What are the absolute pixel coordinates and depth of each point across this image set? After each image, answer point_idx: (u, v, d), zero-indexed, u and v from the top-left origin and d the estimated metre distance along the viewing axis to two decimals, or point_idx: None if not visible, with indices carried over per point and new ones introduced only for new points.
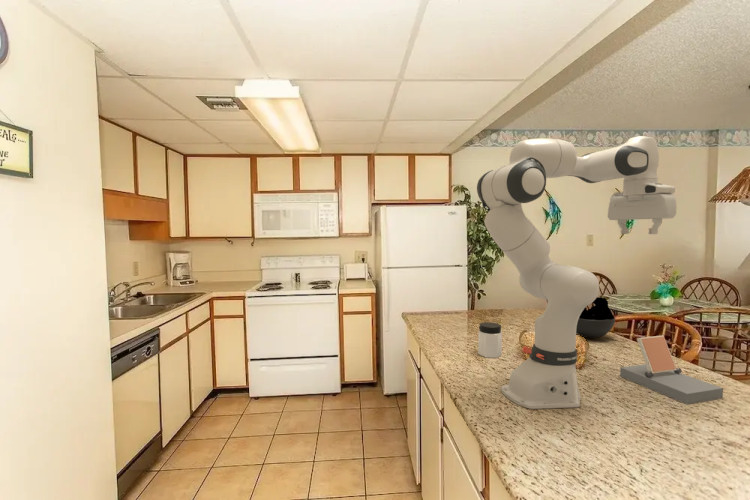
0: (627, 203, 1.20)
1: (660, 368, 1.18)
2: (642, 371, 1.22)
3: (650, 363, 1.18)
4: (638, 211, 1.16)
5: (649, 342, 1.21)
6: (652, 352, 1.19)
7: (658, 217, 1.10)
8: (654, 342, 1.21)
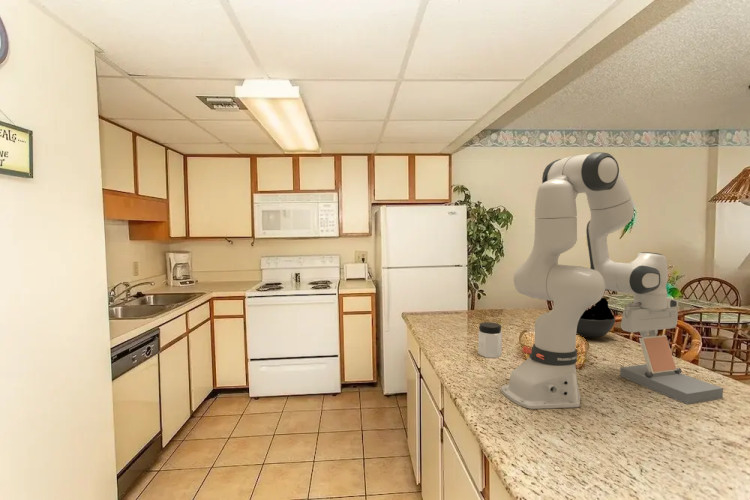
0: (647, 315, 1.20)
1: (660, 368, 1.18)
2: (642, 371, 1.22)
3: (651, 363, 1.17)
4: (657, 323, 1.21)
5: (651, 342, 1.20)
6: (653, 352, 1.19)
7: (671, 327, 1.23)
8: (656, 342, 1.20)
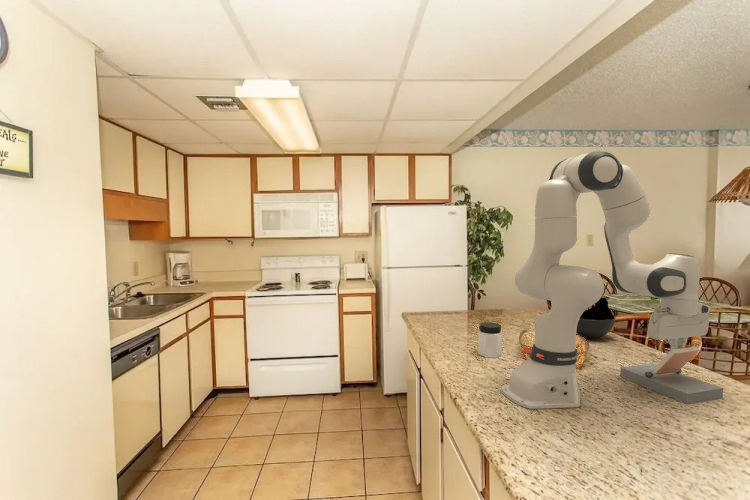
0: (676, 321, 1.11)
1: (664, 372, 1.17)
2: (642, 371, 1.22)
3: (659, 369, 1.15)
4: (687, 330, 1.13)
5: (679, 356, 1.12)
6: (671, 362, 1.14)
7: (702, 335, 1.14)
8: (683, 356, 1.12)
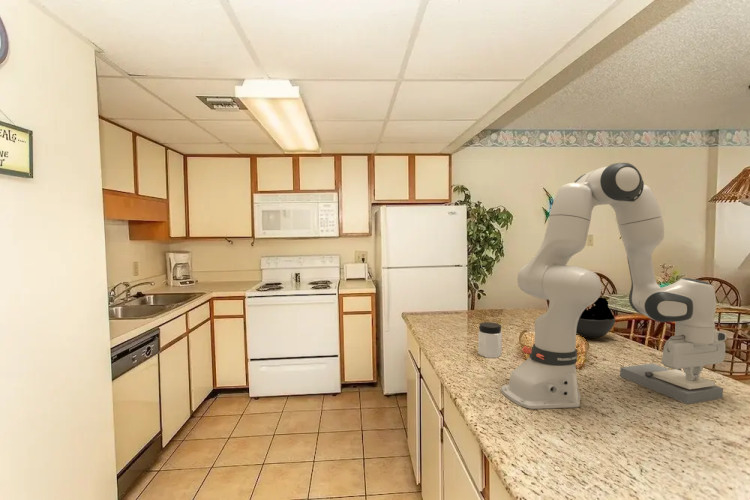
0: (691, 349, 1.08)
1: None
2: (642, 371, 1.22)
3: (662, 379, 1.14)
4: (703, 358, 1.09)
5: None
6: None
7: (718, 362, 1.10)
8: None
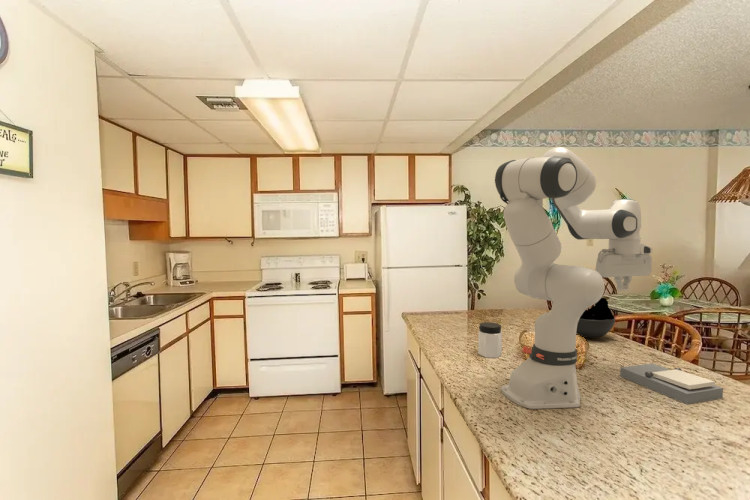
0: (620, 261, 1.22)
1: None
2: (642, 371, 1.22)
3: (662, 379, 1.14)
4: (631, 269, 1.23)
5: None
6: None
7: (645, 274, 1.25)
8: None
